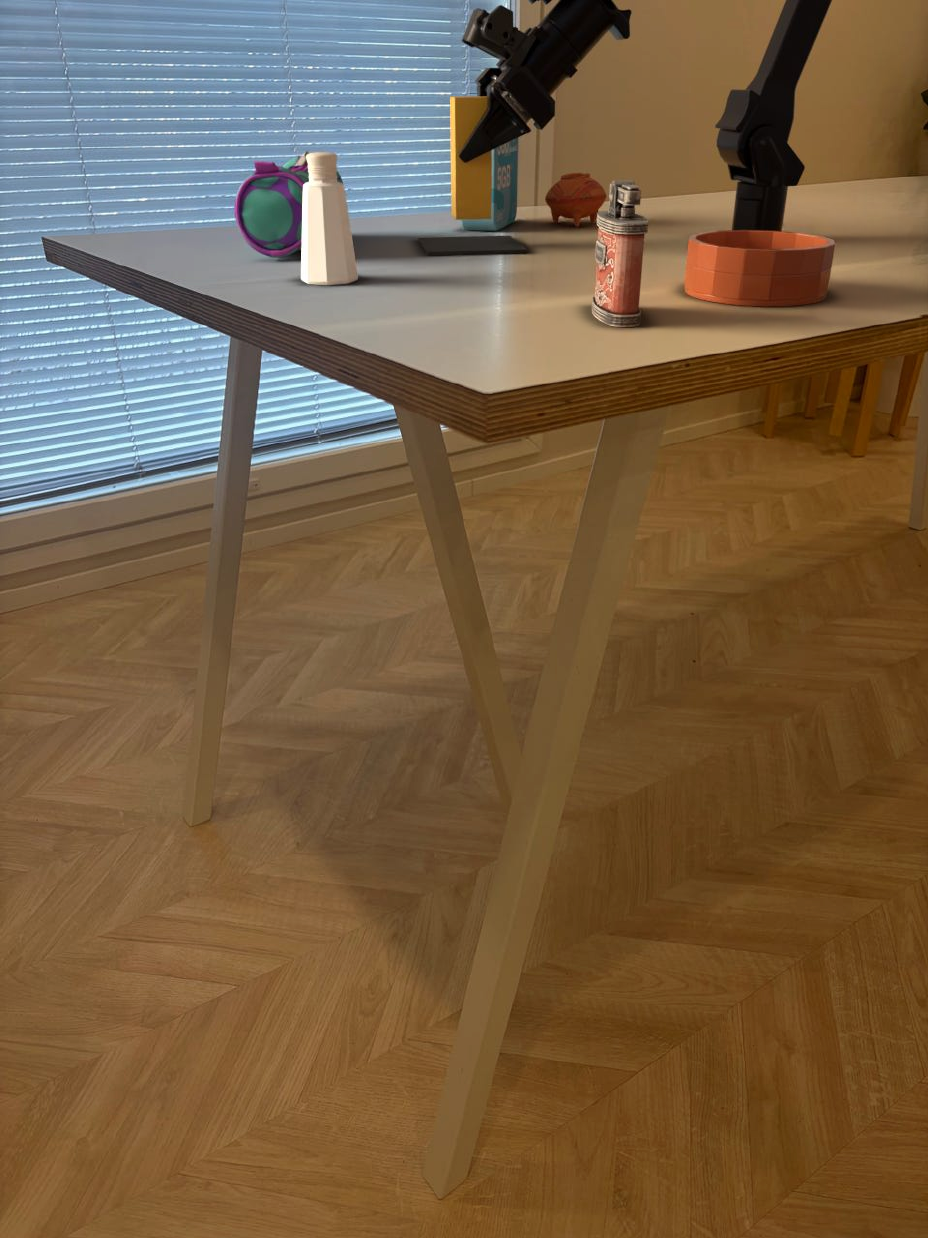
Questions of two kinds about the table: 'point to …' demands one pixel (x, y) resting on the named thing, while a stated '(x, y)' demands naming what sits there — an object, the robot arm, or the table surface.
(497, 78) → the robot arm
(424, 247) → the mat
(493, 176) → the data package
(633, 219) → the lighter
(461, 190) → the block
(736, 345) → the table surface
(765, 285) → the bowl
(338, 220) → the pepper shaker
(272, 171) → the pencil case
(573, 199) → the pot
